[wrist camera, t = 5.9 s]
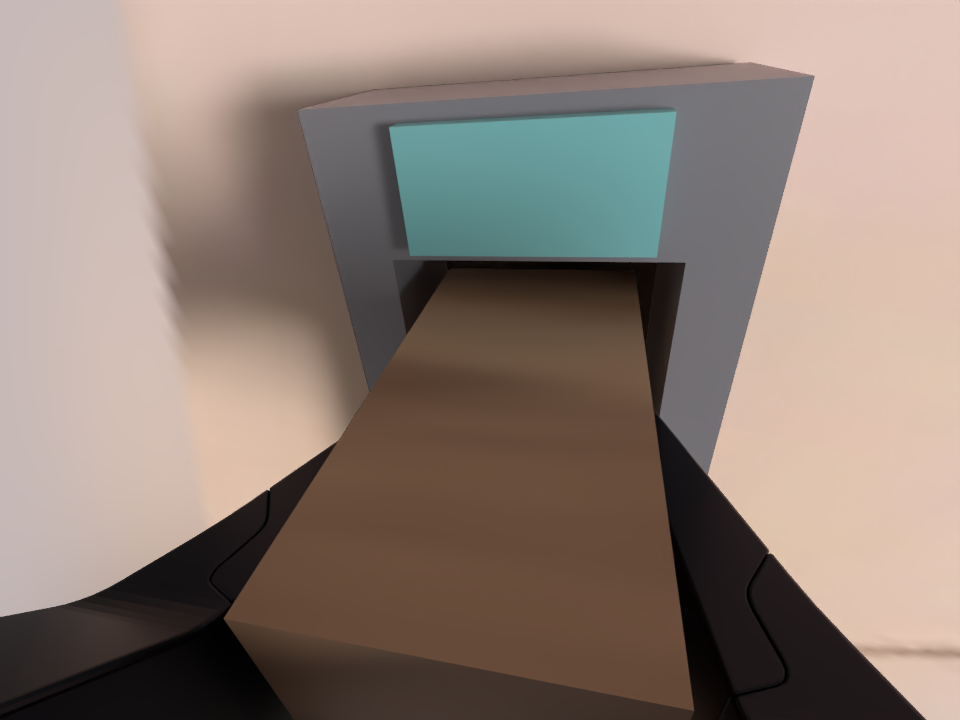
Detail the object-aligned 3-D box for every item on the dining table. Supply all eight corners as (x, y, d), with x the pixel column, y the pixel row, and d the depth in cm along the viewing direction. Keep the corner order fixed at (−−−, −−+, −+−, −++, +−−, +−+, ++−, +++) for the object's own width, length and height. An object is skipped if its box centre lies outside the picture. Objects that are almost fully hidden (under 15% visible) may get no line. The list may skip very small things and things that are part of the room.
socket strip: (635, 634, 22) (641, 737, 18) (463, 605, 23) (442, 695, 20) (751, 62, 9) (826, 77, 6) (374, 89, 11) (285, 112, 8)
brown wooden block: (618, 417, 12) (636, 853, 6) (466, 405, 13) (331, 774, 7) (634, 270, 10) (694, 710, 4) (449, 268, 11) (222, 618, 4)
